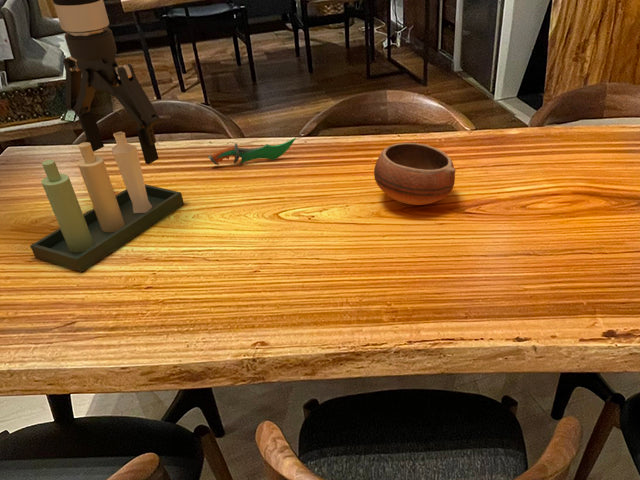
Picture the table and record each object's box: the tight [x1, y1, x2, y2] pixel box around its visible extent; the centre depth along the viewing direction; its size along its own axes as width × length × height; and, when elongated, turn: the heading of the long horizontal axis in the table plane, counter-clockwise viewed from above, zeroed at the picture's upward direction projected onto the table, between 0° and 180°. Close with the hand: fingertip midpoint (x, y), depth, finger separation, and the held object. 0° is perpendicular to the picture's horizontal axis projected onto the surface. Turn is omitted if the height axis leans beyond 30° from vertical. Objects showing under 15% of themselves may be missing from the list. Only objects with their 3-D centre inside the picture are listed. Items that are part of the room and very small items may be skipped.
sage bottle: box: [40, 159, 94, 253], centre depth 108 cm, size 4×4×16 cm
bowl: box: [373, 142, 457, 206], centre depth 121 cm, size 16×16×10 cm
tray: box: [29, 183, 185, 273], centre depth 119 cm, size 12×28×3 cm, turn 153°
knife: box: [208, 137, 297, 166], centre depth 139 cm, size 20×2×5 cm, turn 104°
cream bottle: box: [76, 141, 125, 232], centre depth 114 cm, size 4×4×16 cm
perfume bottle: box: [111, 131, 152, 213], centre depth 119 cm, size 5×4×15 cm
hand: (124, 155), depth 117 cm, fingers open, 13 cm apart
